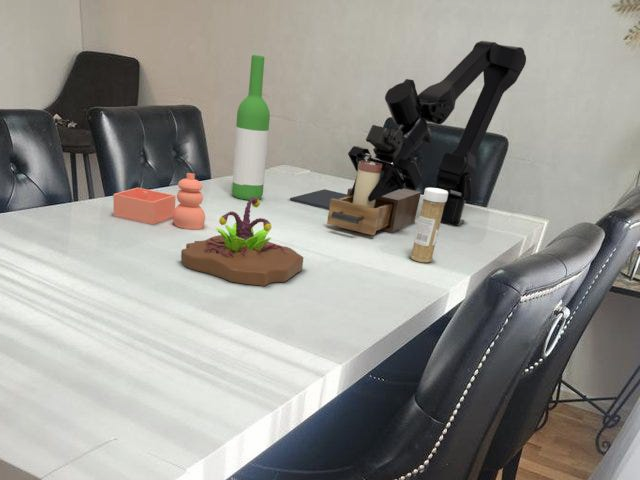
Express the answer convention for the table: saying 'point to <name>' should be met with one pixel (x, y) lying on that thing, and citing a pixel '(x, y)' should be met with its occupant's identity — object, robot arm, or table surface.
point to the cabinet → (400, 208)
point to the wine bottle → (251, 137)
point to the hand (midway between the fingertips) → (360, 197)
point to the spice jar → (428, 224)
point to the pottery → (163, 205)
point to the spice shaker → (366, 182)
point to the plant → (243, 253)
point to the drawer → (359, 215)
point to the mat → (319, 198)
